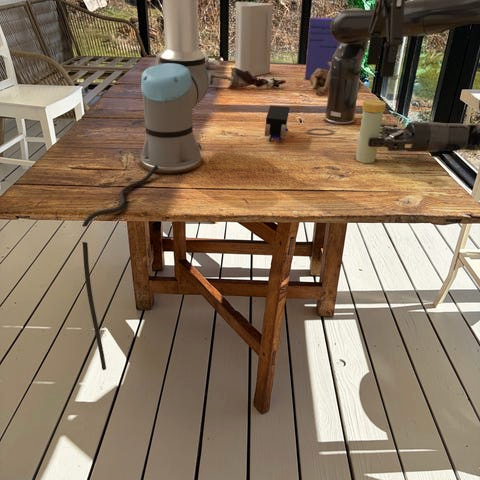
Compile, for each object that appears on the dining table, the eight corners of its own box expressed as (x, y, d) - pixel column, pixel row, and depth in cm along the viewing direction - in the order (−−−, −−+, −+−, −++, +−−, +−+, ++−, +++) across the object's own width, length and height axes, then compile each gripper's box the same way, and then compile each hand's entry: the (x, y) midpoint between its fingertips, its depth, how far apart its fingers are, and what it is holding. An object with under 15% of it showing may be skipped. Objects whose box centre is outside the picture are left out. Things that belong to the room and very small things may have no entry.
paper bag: (273, 76, 210) (276, 6, 196) (239, 77, 209) (240, 6, 194) (266, 67, 226) (268, 2, 212) (235, 67, 225) (235, 1, 210)
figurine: (210, 87, 179) (288, 95, 182) (212, 65, 176) (291, 73, 180) (208, 84, 201) (278, 91, 205) (210, 64, 198) (280, 71, 202)
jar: (354, 161, 126) (362, 105, 118) (357, 155, 130) (366, 100, 122) (373, 164, 124) (382, 107, 117) (376, 157, 128) (385, 102, 121)
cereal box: (344, 77, 210) (352, 18, 198) (346, 80, 206) (353, 19, 194) (305, 76, 211) (309, 17, 199) (305, 79, 207) (310, 18, 195)
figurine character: (286, 149, 136) (289, 127, 148) (287, 124, 131) (290, 104, 143) (262, 148, 137) (267, 126, 149) (263, 123, 132) (268, 103, 144)
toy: (175, 75, 210) (174, 58, 206) (151, 64, 228) (150, 49, 224) (222, 69, 222) (222, 53, 218) (195, 59, 239) (195, 45, 236)
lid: (360, 111, 119) (361, 103, 118) (364, 105, 123) (365, 98, 122) (383, 113, 117) (384, 106, 116) (386, 108, 121) (387, 101, 121)
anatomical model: (320, 97, 196) (320, 98, 182) (304, 82, 195) (303, 82, 181) (342, 73, 192) (344, 72, 177) (327, 57, 191) (327, 56, 177)
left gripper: (364, -33, 115) (352, 60, 126) (394, -29, 94) (376, 82, 105) (395, -32, 115) (380, 60, 126) (431, -29, 94) (410, 82, 105)
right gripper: (419, 114, 128) (359, 114, 128) (439, 131, 116) (373, 131, 116) (413, 141, 132) (355, 141, 132) (432, 160, 120) (369, 160, 120)
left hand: (378, 70), depth 115 cm, fingers open, 13 cm apart
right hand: (364, 136), depth 124 cm, fingers open, 8 cm apart
